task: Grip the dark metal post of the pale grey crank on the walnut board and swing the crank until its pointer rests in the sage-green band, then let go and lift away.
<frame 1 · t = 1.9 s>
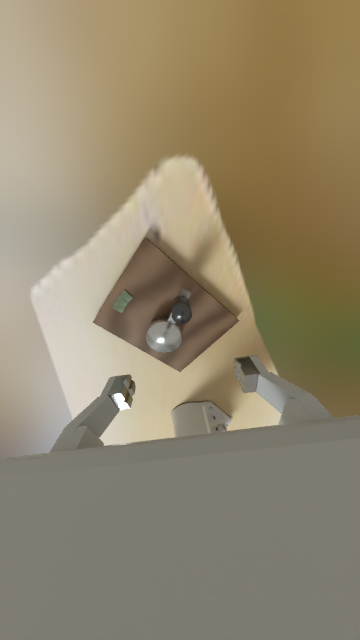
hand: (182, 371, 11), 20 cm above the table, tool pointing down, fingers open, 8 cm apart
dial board: (167, 318, 30), on the table
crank: (170, 326, 25), point 5 cm above the table, hinge at 0.0°
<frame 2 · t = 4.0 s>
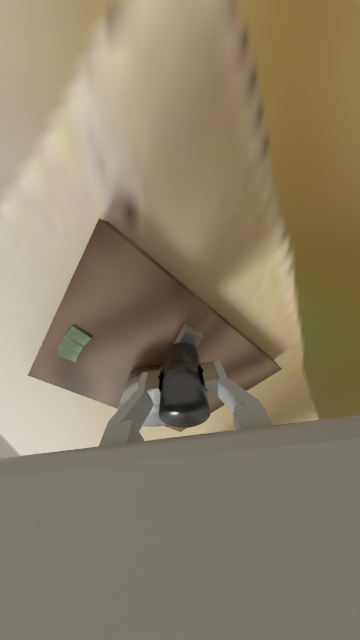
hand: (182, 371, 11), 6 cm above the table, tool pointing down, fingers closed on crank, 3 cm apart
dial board: (158, 362, 18), on the table
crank: (162, 397, 13), point 5 cm above the table, hinge at 0.1°, touching gripper
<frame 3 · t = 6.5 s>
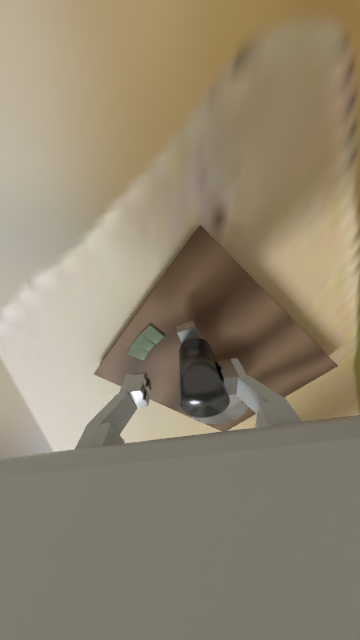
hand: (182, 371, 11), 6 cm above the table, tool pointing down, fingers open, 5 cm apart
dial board: (214, 361, 19), on the table
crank: (211, 393, 13), point 5 cm above the table, hinge at 44.8°, touching gripper
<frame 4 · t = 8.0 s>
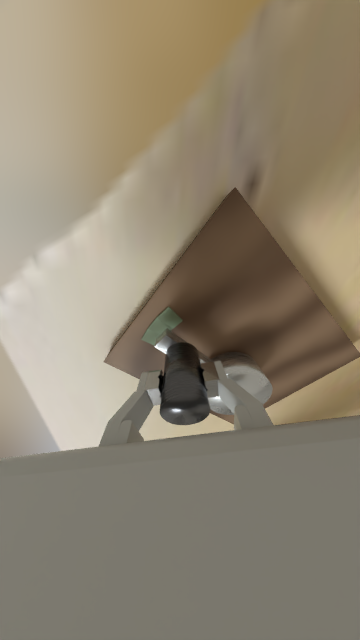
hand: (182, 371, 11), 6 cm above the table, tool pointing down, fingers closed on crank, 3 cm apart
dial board: (230, 350, 18), on the table
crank: (218, 388, 13), point 5 cm above the table, hinge at 72.9°, touching gripper
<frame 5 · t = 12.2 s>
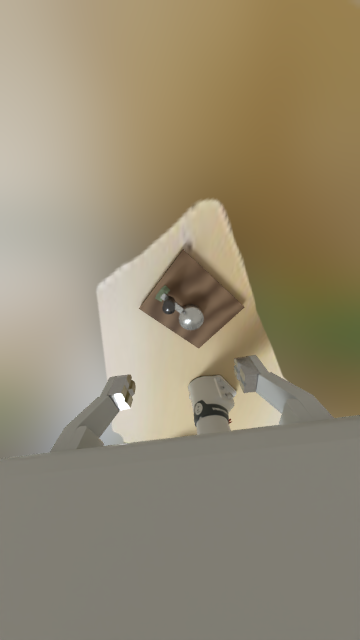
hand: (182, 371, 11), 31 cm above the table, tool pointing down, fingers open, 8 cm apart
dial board: (191, 306, 42), on the table
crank: (182, 313, 37), point 5 cm above the table, hinge at 73.2°
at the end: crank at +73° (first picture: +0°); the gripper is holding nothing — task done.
